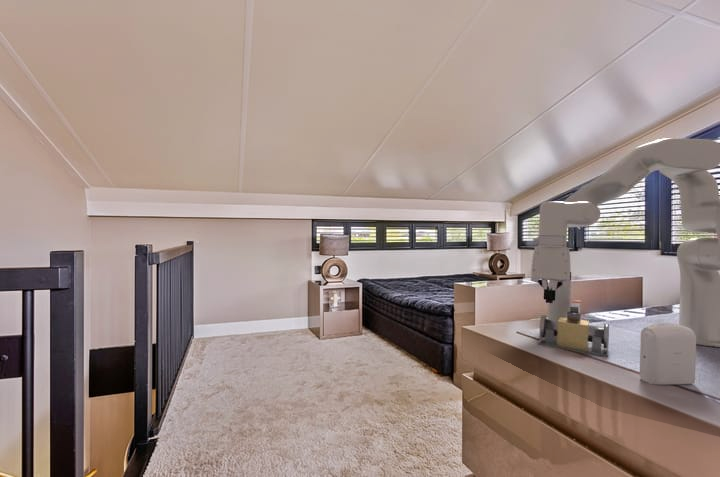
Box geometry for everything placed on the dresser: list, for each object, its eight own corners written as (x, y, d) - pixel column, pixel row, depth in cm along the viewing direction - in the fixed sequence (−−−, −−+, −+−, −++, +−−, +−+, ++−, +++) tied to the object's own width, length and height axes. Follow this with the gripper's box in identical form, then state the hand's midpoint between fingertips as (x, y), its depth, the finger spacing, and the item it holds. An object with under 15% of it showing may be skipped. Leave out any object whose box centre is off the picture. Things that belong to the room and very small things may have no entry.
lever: (580, 321, 95) (580, 308, 95) (566, 320, 96) (566, 306, 96) (582, 312, 107) (583, 300, 107) (570, 311, 109) (571, 299, 109)
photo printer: (654, 386, 71) (656, 325, 71) (635, 377, 75) (637, 320, 75) (699, 385, 72) (701, 326, 72) (678, 377, 76) (680, 321, 76)
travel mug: (550, 332, 111) (552, 270, 111) (545, 327, 117) (547, 268, 117) (572, 334, 109) (574, 271, 109) (566, 329, 115) (568, 269, 115)
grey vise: (607, 347, 96) (608, 321, 96) (608, 357, 88) (609, 328, 88) (543, 336, 106) (544, 312, 106) (538, 344, 97) (539, 318, 97)
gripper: (523, 241, 107) (520, 300, 107) (580, 243, 98) (577, 308, 98) (527, 241, 113) (524, 297, 113) (581, 243, 104) (578, 304, 104)
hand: (549, 302), depth 105 cm, fingers closed
